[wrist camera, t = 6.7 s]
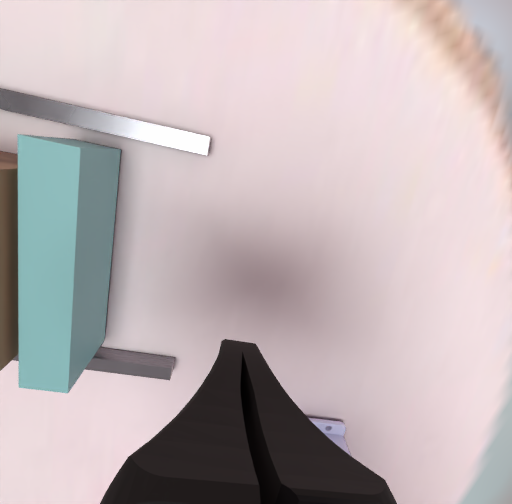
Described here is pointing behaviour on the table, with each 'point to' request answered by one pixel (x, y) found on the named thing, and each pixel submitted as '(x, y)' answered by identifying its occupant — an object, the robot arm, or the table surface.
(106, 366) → the vise
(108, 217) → the block
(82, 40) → the table surface
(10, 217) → the walnut block
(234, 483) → the robot arm
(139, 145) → the table surface
